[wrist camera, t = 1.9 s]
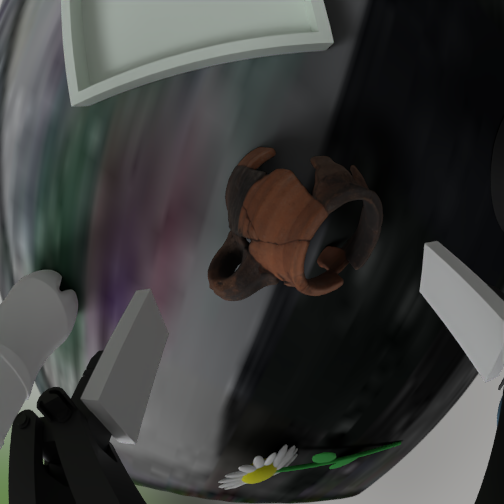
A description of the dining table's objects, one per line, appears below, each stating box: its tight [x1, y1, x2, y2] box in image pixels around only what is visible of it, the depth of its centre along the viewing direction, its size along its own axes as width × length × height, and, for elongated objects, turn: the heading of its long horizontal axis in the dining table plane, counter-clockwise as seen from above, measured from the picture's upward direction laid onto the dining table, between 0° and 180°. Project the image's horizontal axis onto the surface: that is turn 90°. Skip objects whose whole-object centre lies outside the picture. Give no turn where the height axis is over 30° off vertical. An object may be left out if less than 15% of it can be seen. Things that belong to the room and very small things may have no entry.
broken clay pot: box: [208, 147, 383, 301], centre depth 20 cm, size 12×9×8 cm
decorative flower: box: [219, 441, 401, 489], centre depth 36 cm, size 13×5×30 cm
